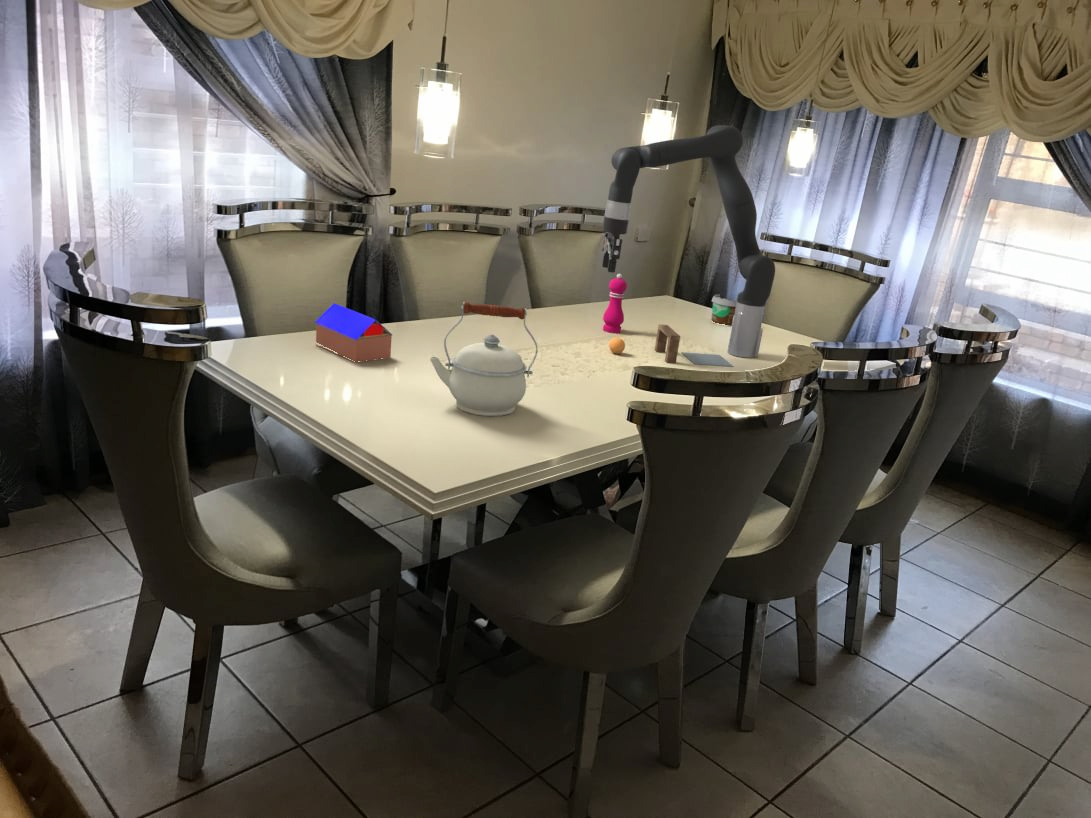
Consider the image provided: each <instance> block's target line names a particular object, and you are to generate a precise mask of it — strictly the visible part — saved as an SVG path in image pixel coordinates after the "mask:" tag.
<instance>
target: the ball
mask: <svg viewBox="0 0 1091 818" xmlns="http://www.w3.org/2000/svg"><path fill="white" fill-rule="evenodd" d="M608 348H609V350H610V352H611V353H612V354H617V355H618V354H621V353H623V351H625V349H626V343H625V341H624V339H622V338H620V337H614V338H612V339H611V340H609V344H608Z"/></svg>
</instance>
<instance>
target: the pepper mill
mask: <svg viewBox="0 0 1091 818" xmlns="http://www.w3.org/2000/svg"><path fill="white" fill-rule="evenodd" d="M608 287H609V290H610V291H609V297H610V299H609V304H608V306H607V308H606V309H605V311H604V314H603V316H602V320H603V323H604V324H603V326H602V331H604V332H606V333H610V334H611V333H612V334H620V333H621V331H622V326H621V325H622V324H623V323H624V321H625V314H624V311H623V306H622V302H623V299H624V297H625V296H624V295H625V293H624V292H625V291H627V287H628V285H627V282H626V280H625V279H623V275H622V273H618V274H616V277H615V278H613V279H611V280H610V281H609V284H608Z"/></svg>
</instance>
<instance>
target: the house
mask: <svg viewBox="0 0 1091 818" xmlns="http://www.w3.org/2000/svg"><path fill="white" fill-rule="evenodd" d="M314 323H315V324H316V329H315V330H316V331H315V332H316V333H315V343H316V342H317V343H319V344H321V345H323V346H324V347H327V348H329V349H331V350H333V351H335V352H337V353H338V354H340V355H342V356H345V357H347V358H349V359H351V360H353V361H355V362H358V361H365V362H367V361H366V360H372V361H375V360H374V359H379V360H382V359H381V358H386V359H391V356H392V355H391V354H392V338H393V337H392V336H393V334H392V333H391V332H390V331H389V330H388V329H386V327H385V326H384V325H383V324H381V323H380V322H379V321H378V320H377V319H375V318H374V317H370V316H367V315H365V314H363V313H360V312H359V311H358V312H357V311H355V310H353V309H350V308H347V307H345V306H342V305H340V304H337V303H333V304H332V305H330V307H329V308H327V309H326V311H324V312H323V313H322V314H321V316H320V317H318V318H317V319H316V321H314ZM342 356H341V357H342ZM353 361H352V362H353ZM355 362H354V363H355ZM358 363H359V362H358Z"/></svg>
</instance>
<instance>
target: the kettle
mask: <svg viewBox="0 0 1091 818" xmlns="http://www.w3.org/2000/svg"><path fill="white" fill-rule="evenodd" d="M460 307H461V309H462V313H461V318H460V319H459V320H458V322H456V323H455V324H453V326H452V327H451V328H450V329H449V330H448V332H447V333H446V335H445V338H444V341H443V345H444V346H443V347H444V352H445V356H446V357H447V358H446V359H447V361H448V362H445V363H444V364H443V363H442V362H441V360H440V358H439V357H438V356H435V355H434V356H430V357H429V360H430V362H431V364H432V366H433V368H434V370H435V372H436V375H437V376H438V377H439V379H440V380H441V382H442V383H443V384H444V385H445V386H446V387H447V388H448V389H449V391H450V394H451V396H452V397H453V398H454V399H455V405H456V407H457V408H458V409H460V410H461V411H463V412H465V413H468V414H470V415H476V416H480V417H503V416H506V415H510V414H512V413H513V412H514V411H515V408H516V405H518V404H519V403H520V402H521V401H522V400H523V398H524V396H525V394H526V390H527V381H526V377H527V378H529V377H530V375H532V374H534V373H533V372H534V371H533V370H531V368H532V367H533V364H534V362H535V360H536V358H537V355H538V345H537V344H538V343H537V341H536V339H535V338H534V336H533V335H532V333H531V331H530V330H529V328H528V327H527V325H526V317H527V316H528V312H527V308H524V307H520V308H514V307H510V306H506V305H501V306H500V305H496V304H494V305H493V304H488V303H487V304H485V303H478V304H477V303H475V304H474V303H469V302H468V301H463V302H462V305H461V306H460ZM469 313H470V314H471V313H472V314H477V315H481V316H490V317H496V318H497V317H500V318H518V319H519V320H523V326H524V328H525V331H526V332H527V333H528V334H529V336H530V338H531V339H532V341H533V342H534V343H533V344H534V345H535V348H536V349H535V354H534V356H533V359H531V363H530V364H529V366H528V367H527V365H526V364H525V363H524V362H523V359H522V357H521V355H520V354H519V353H518V351H516V350H514V349H513V348H511V347H509V346H507V345H503V344H500V343H501V340H500V339H499V337H497V336H496V335H494V334H493V333H490V334H489V335H487V336H485V337H484V338H483V339H482V341H483V342H476V343H471V344H469V345H466V346H464V347H463V348H461V349H460V350H459V352H457V354H456V355H455V356H454V357H453V358H452V359H451V358H450V355H449V352H448V349H447V339H448V336H449V335H450V333H451V332H452V331H453V330H454V329H455V328H456V327H457V326H458V325H459V324H461V322H462V321H463V318H464V314H465V315H467V314H469ZM450 368H451V369H450ZM525 375H526V376H525Z"/></svg>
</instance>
